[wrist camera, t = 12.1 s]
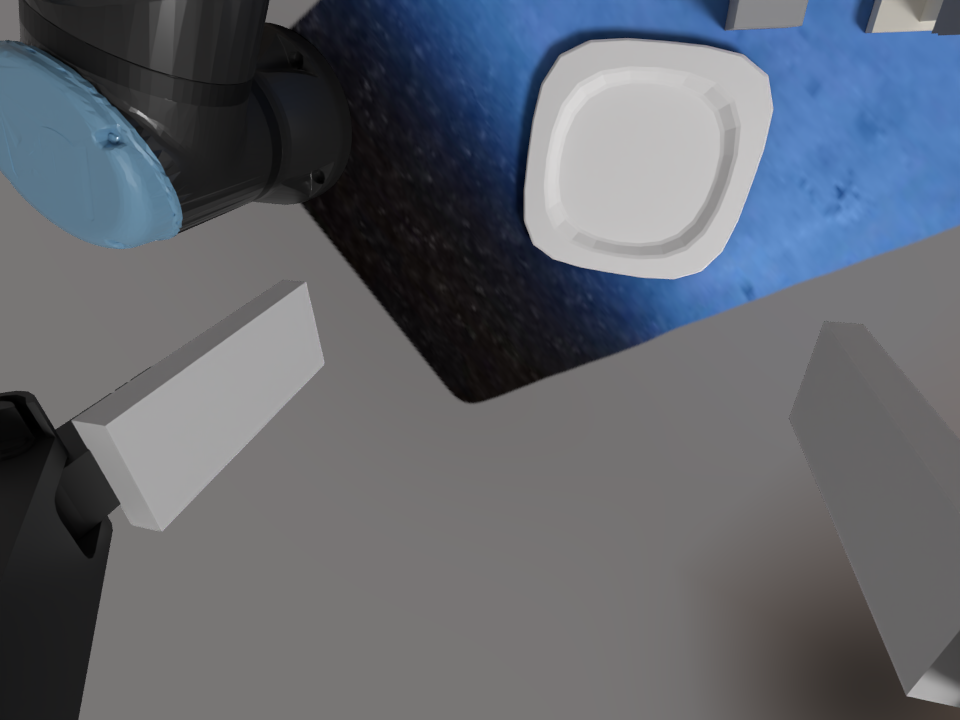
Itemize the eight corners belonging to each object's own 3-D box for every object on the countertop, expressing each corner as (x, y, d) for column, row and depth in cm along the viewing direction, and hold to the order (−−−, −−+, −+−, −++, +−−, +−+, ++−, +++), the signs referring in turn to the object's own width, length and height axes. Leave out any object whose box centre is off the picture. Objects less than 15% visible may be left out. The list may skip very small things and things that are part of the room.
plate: (545, 30, 39) (542, 29, 38) (793, 52, 36) (800, 53, 35) (517, 251, 49) (514, 257, 48) (711, 283, 46) (713, 291, 45)
